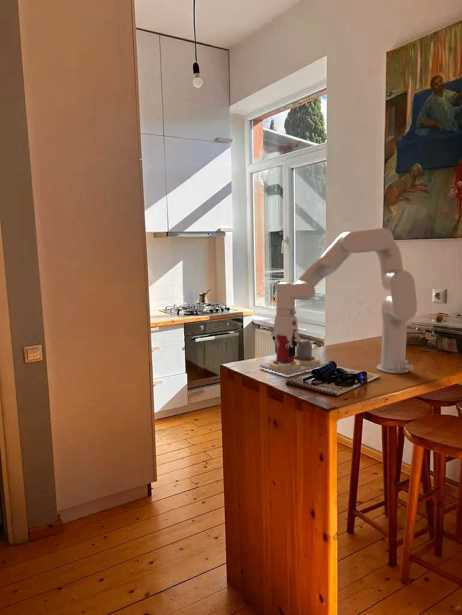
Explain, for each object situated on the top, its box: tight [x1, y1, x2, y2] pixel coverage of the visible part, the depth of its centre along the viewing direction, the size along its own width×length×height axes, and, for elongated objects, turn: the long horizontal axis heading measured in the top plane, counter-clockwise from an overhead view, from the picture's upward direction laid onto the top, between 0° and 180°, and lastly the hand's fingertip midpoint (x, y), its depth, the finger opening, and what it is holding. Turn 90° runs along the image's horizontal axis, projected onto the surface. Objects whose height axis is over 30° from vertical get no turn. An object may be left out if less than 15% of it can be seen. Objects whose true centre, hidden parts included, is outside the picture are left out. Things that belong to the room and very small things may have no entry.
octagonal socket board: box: [259, 354, 329, 375], centre depth 195 cm, size 16×25×4 cm, turn 129°
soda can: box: [275, 334, 294, 364], centre depth 190 cm, size 7×7×12 cm
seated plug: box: [295, 339, 313, 361], centre depth 198 cm, size 7×7×9 cm
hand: (285, 354), depth 190 cm, fingers closed on soda can, 7 cm apart
